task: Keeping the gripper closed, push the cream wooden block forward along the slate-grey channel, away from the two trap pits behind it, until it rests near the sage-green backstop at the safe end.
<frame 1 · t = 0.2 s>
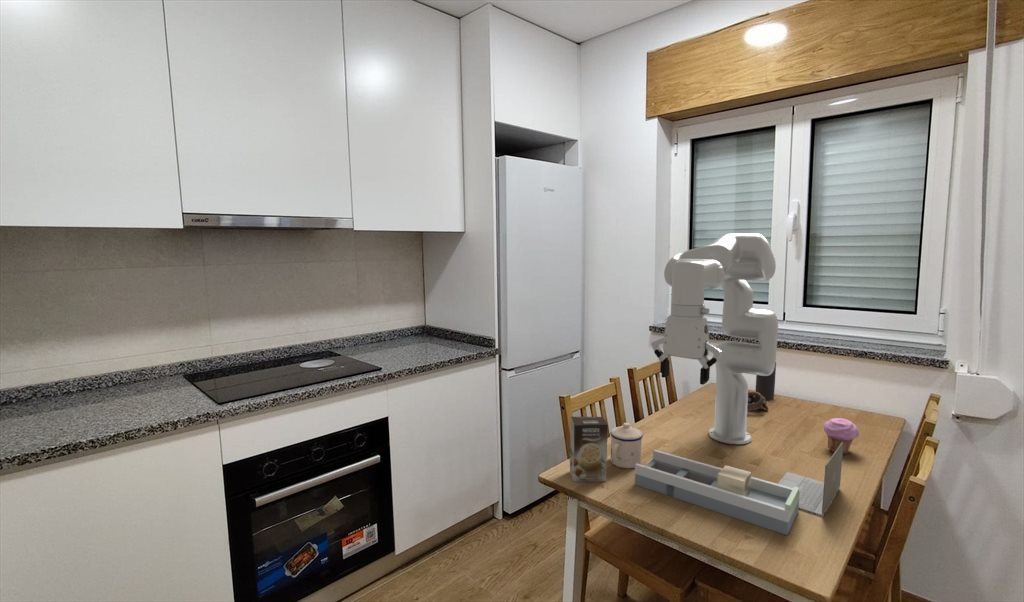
hand: (683, 379, 123), 30 cm above the table, tool pointing down, fingers open, 9 cm apart
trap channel: (712, 497, 125), on the table
block: (733, 492, 121), point 3 cm above the table, touching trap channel
pottery mug: (752, 410, 187), on the table
coffee box: (587, 477, 136), on the table
cupcake: (839, 451, 151), on the table
teacup with lid: (623, 464, 143), on the table
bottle: (764, 398, 200), on the table
laptop: (803, 495, 126), on the table
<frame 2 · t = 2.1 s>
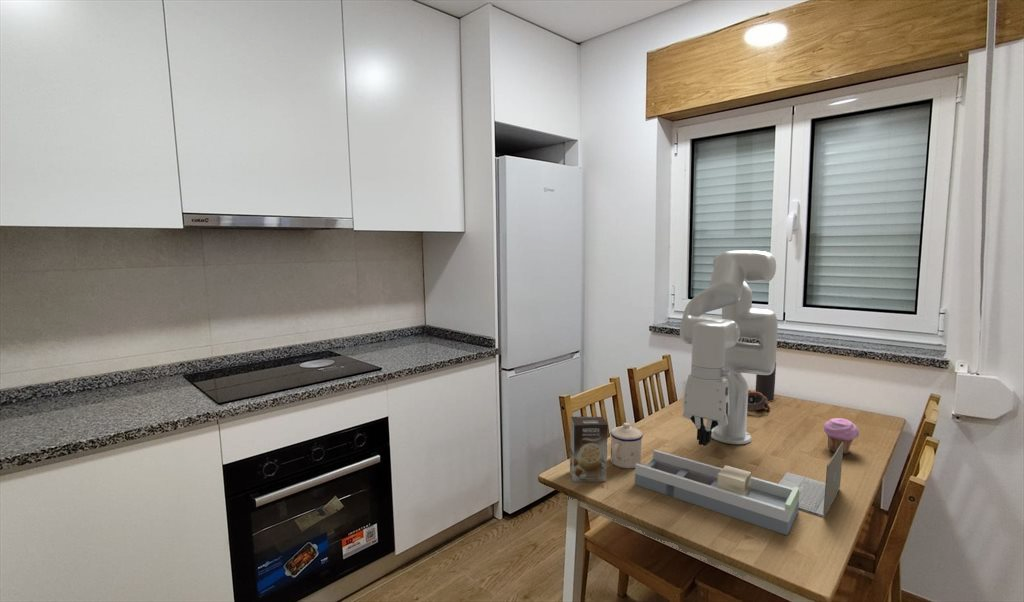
hand: (703, 443, 124), 14 cm above the table, tool pointing down, fingers closed
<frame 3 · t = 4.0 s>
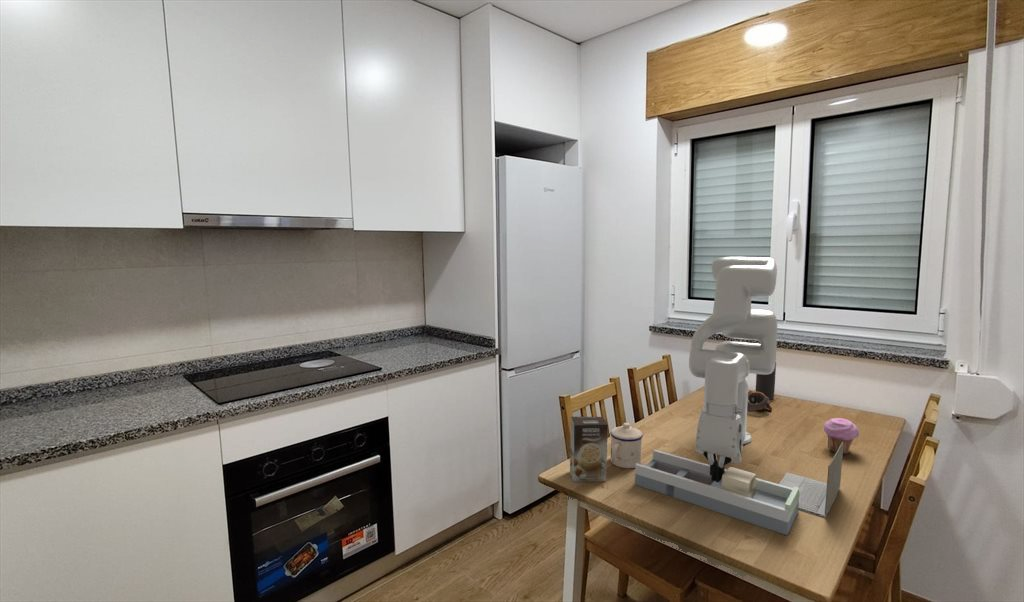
hand: (716, 479, 123), 5 cm above the table, tool pointing down, fingers closed
block: (738, 494, 120), point 3 cm above the table, touching gripper
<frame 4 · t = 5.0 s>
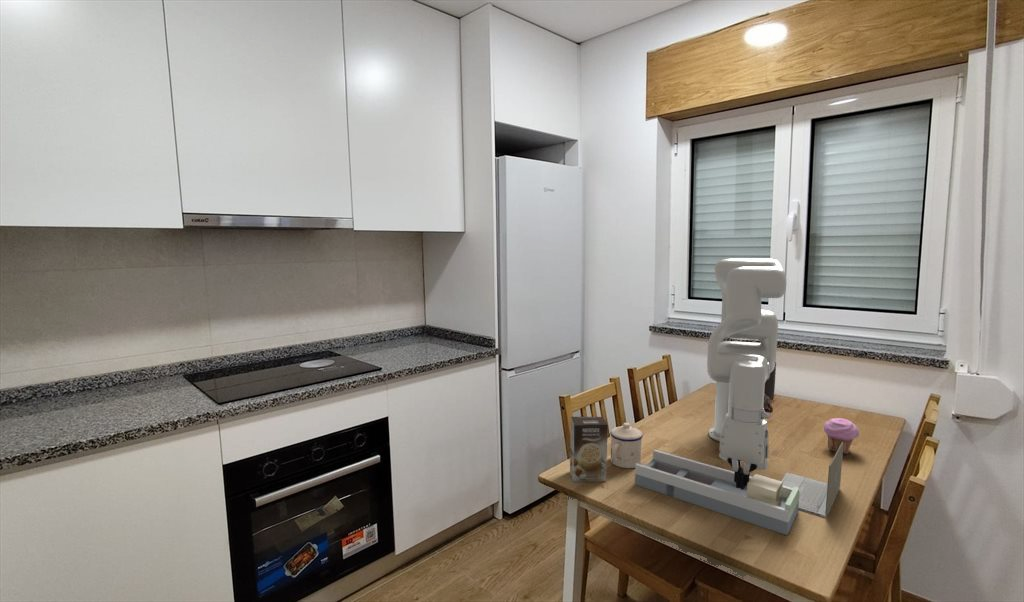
hand: (741, 486, 119), 5 cm above the table, tool pointing down, fingers closed
block: (763, 502, 116), point 3 cm above the table, touching gripper, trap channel
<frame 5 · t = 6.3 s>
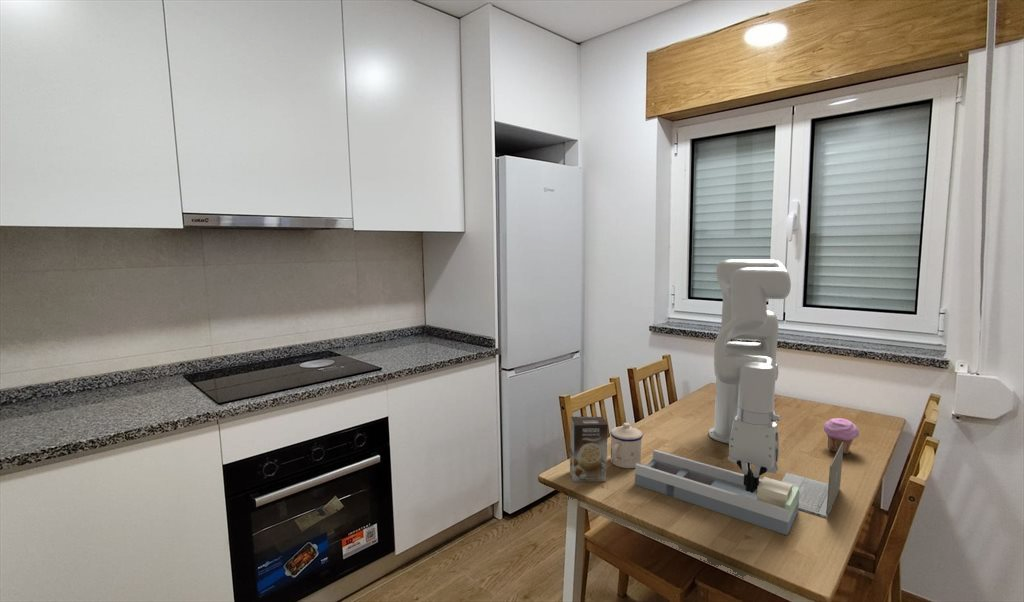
hand: (750, 489, 118), 5 cm above the table, tool pointing down, fingers closed
block: (773, 505, 115), point 3 cm above the table, touching gripper, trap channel
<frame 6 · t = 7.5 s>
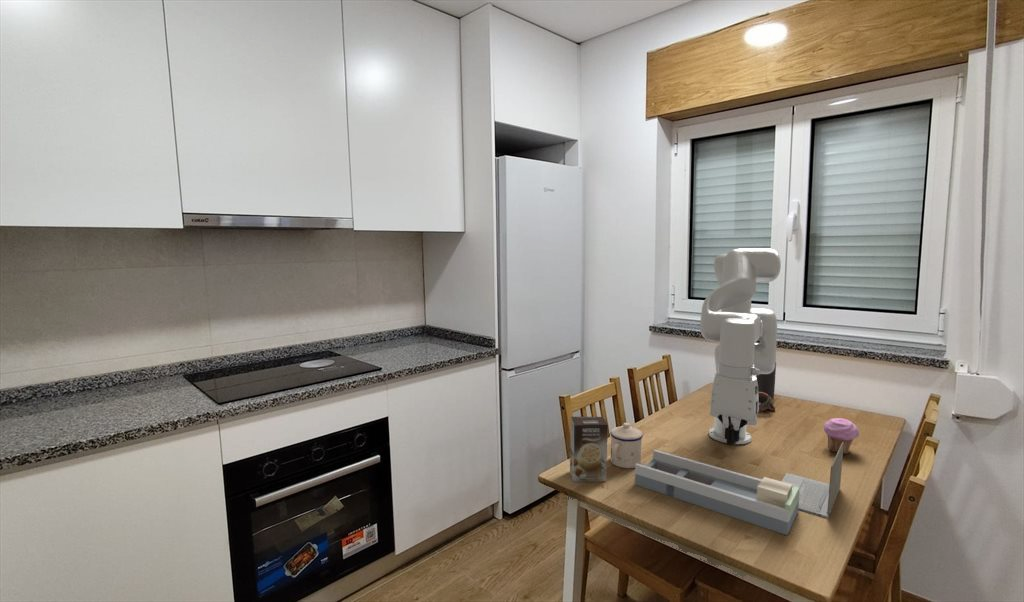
hand: (731, 442, 121), 15 cm above the table, tool pointing down, fingers closed
block: (773, 505, 115), point 3 cm above the table, touching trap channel
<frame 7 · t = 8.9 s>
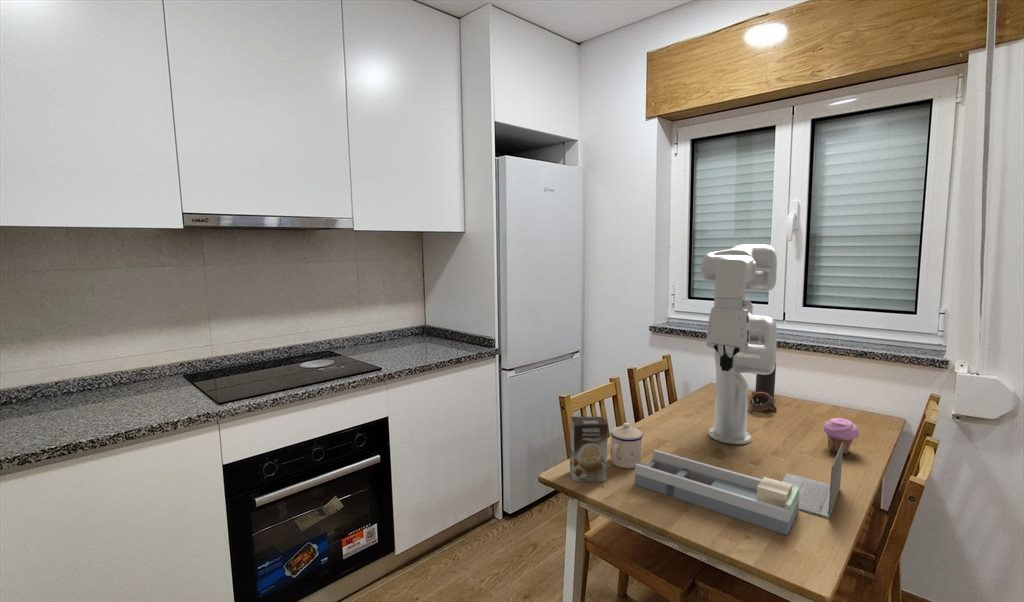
hand: (726, 369, 136), 29 cm above the table, tool pointing down, fingers closed
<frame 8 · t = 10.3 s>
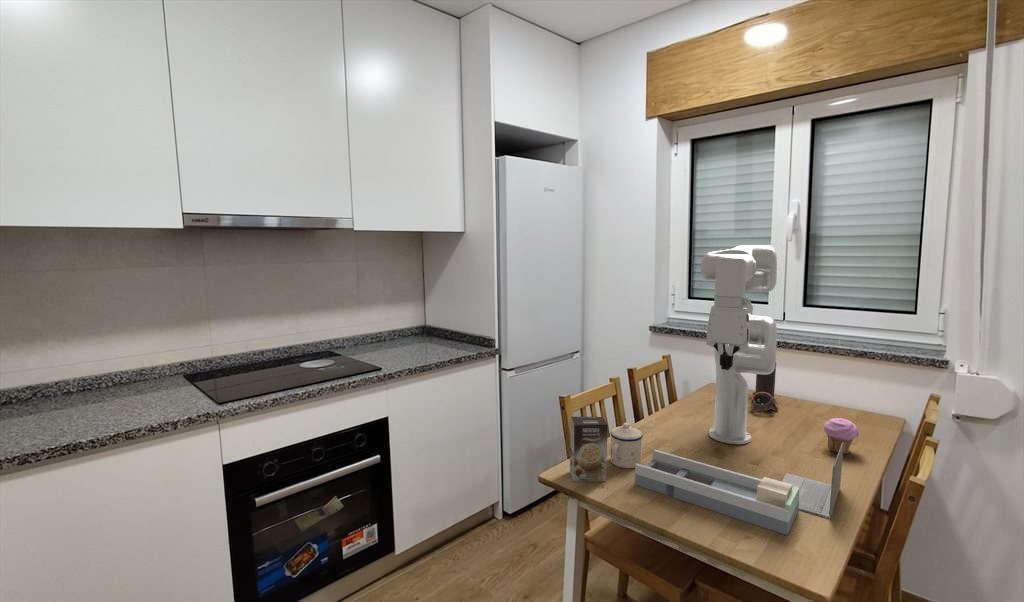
hand: (726, 368, 136), 29 cm above the table, tool pointing down, fingers closed
at the end: block 1.4 cm from the target spot on the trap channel, point 3.0 cm above the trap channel's base; block tilted 0°; block moved 9.0 cm from its start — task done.
